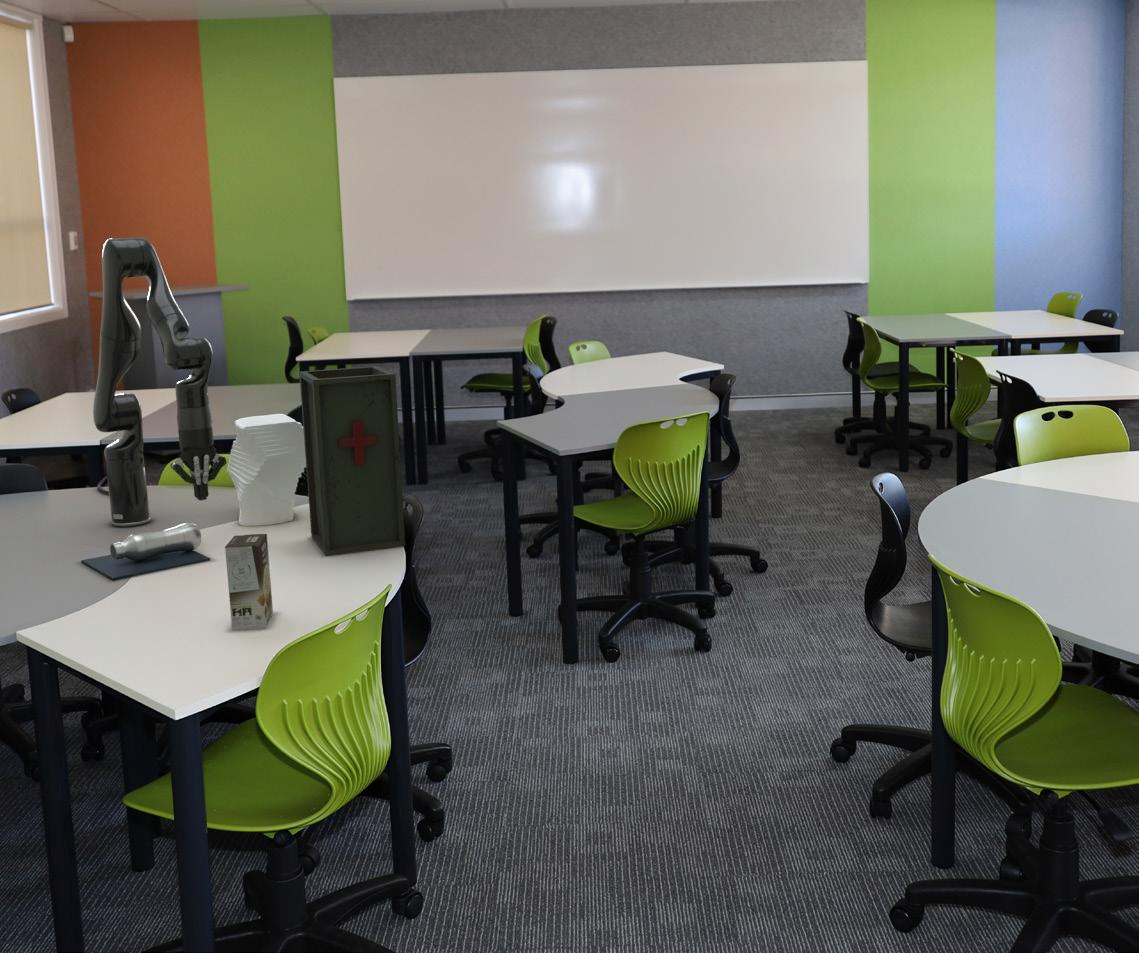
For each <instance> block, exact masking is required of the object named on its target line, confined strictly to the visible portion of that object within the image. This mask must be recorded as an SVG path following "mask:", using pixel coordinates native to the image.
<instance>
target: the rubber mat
mask: <svg viewBox="0 0 1139 953" xmlns="http://www.w3.org/2000/svg"><path fill="white" fill-rule="evenodd" d="M210 561H211V557H209V556H206V555H204V554H202V553H200V552H197V551H195V550H192V551H178V552H170V553H165V554H161V555H157V556H154V557H151V558H148V559H145V560H142V561H133V560H130V559H128V558H126V557H124V558H123V559H117V560H114V559H113V558H112V556H111V554H107V555H101V556H96V557H91V558H85V559H81V560H80V563H81V564H83V565H84V566H86V567H88V568H90V569H92V571H93V570H94V571H95V572H97V573H99V574H101V575H102V576H104V577H106V578H107V579H109V580H110V581H118V580H122V579H123V580H124V579H128V578H133V577H138V576H142V575H146V574H147V575H148V574H152V573H156V572H162V571H166V570H171V569H176V568H182V567H185V566H186V567H187V566H191V565H197V564H200V563H206V562H210Z"/></svg>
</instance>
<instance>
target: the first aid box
mask: <svg viewBox="0 0 1139 953" xmlns="http://www.w3.org/2000/svg"><path fill="white" fill-rule="evenodd" d="M298 373H299V374H298V376H299V386H300V387H299V388H300V401H301V403H300V404H301V415H302V426H303V429H304V443H305V456H306V467H305V468H306V480H307V494H308V496H307V497H308V508H309V521H310V523H309V524H310V536H311V539H312V540H313V541H314V543H315V544H316V545H317V547H318V548H319V549H320V550H321V552H322V553H323V554H324V556H325V557H329V556H335V555H344V554H353V553H361V552H368V551H377V550H385V549H393V548H400V547H406V533H405V515H404V514H405V513H404V499H403V498H404V497H403V481H402V466H401V448H400V431H399V429H400V428H399V414H398V397H397V396H398V395H397V380H396V373H394V372H392V371H389V370H387V369H385V368H382V367H380V366H378V365H376V366H375V365H374V366H361V367H360V366H359V367H345V368H332V369H330V368H329V369H318V370H304V371H298Z"/></svg>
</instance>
